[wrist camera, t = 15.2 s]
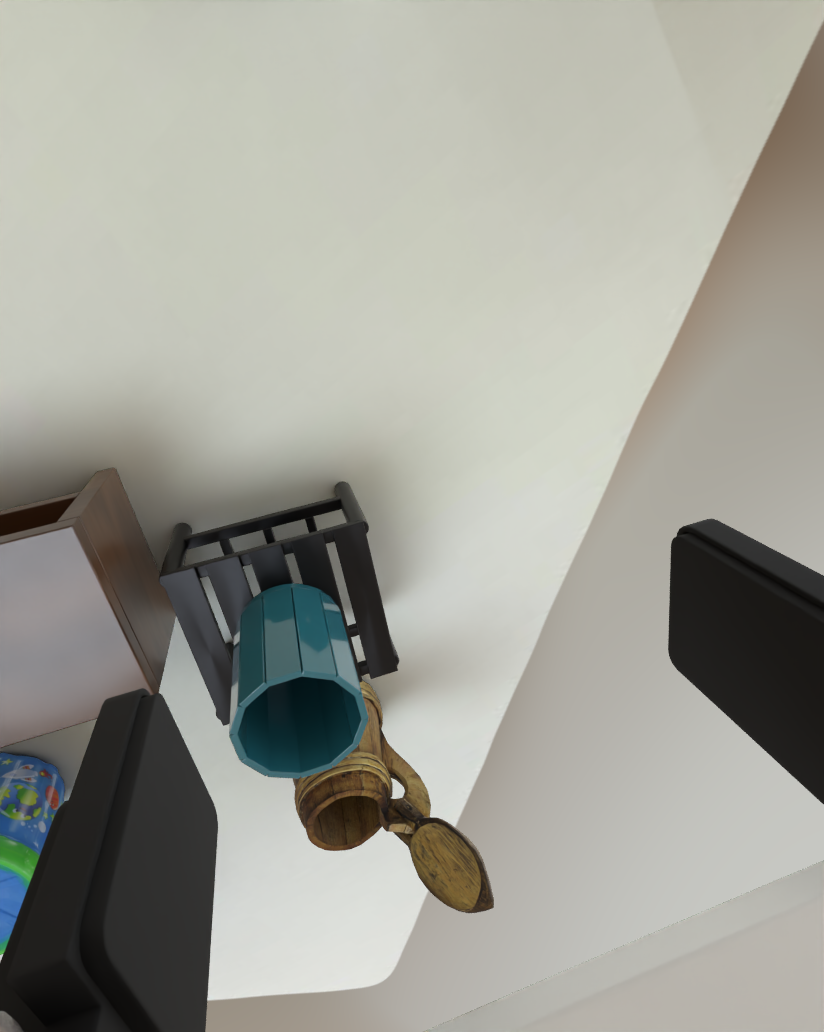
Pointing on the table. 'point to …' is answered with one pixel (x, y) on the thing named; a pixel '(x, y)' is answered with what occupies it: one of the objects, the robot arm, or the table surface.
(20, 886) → the snack cup
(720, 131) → the table surface
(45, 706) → the dark wooden cube
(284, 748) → the cup
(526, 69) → the table surface
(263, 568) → the rack
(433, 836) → the wooden mug
